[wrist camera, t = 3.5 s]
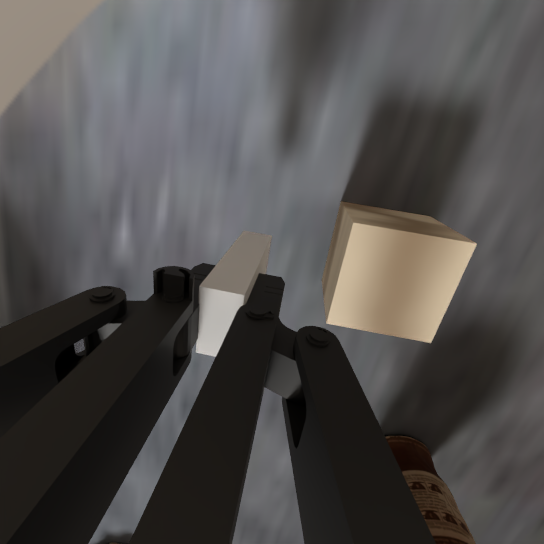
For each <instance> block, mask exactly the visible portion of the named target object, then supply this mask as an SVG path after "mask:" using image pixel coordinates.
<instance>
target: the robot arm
mask: <svg viewBox="0 0 544 544" xmlns="http://www.w3.org/2000/svg"><path fill="white" fill-rule="evenodd" d="M271 238H272V236H270V235H265V234H259V233H254V232H248V231H243V232H242V234H241V235H240V236H239V237H238V239H237V240H236V241H235V242H234V244H233V245H232V246H231V247H230V249H229V250H228V251H227V252H226V254H225V255H224V256H223V257H222V259H221V260H220V261H219V262H218V264H217V265H216V266H215V265H210V264H205V263H202V264H200V265H197V266H195V267H194V268H193V269H192V270H189V269H187V268H183V267H177V266H168V267H162V268H158V269H156V270H155V271H153V277H154V294H153V295H152V296H151V297H150V298H149V299H147V300H146V301H126V294H125V291H123V290H122V289H120V288H116V287H112V286H101V287H96V288H92V289H89V290H86V291H84V292H82V293H79V294H77V295H75V296H73V297H70V298H68V299H66V300H63V301H61V302H59V303H57V304H54V305H52V306H50V307H48V308H45V309H43V310H41V311H38V312H36V313H34V314H32V315H29V316H27V317H25V318H22V319H20V320H18V321H16V322H13V323H11V324H9V325H7V326H4V327H2V328H0V544H88V543H89V541H90V539H91V538H92V536H93V534H94V532H95V531H96V529H97V527H98V525H99V523H100V522H101V520H102V518H103V516H104V515H105V513H106V511H107V509H108V507H109V506H110V504H111V502H112V500H113V499H114V497H115V495H116V493H117V491H118V490H119V488H120V486H121V484H122V483H123V481H124V479H125V477H126V475H127V474H128V472H129V470H130V468H131V467H132V465H133V463H134V461H135V459H136V458H137V456H138V454H139V452H140V451H141V449H142V447H143V445H144V443H145V442H146V440H147V438H148V436H149V435H150V433H151V431H152V429H153V427H154V426H155V424H156V422H157V420H158V419H159V417H160V415H161V413H162V411H163V410H164V408H165V406H166V404H167V403H168V401H169V399H170V397H171V395H172V394H173V392H174V390H175V388H176V387H177V385H178V383H179V381H180V379H181V378H182V376H183V374H184V372H185V371H186V369H187V367H188V365H189V363H190V361H191V353H192V348H193V346H194V344H195V343H196V341H197V343H196V353H201V354H206V355H210V356H215V357H216V358H215V360H214V362H213V364H212V366H211V369H210V371H209V373H208V375H207V377H206V379H205V381H204V384H203V386H202V388H201V390H200V392H199V394H198V397H197V399H196V401H195V403H194V405H193V407H192V409H191V412H190V414H189V416H188V418H187V420H186V422H185V424H184V427H183V429H182V431H181V433H180V435H179V437H178V440H177V442H176V444H175V446H174V448H173V450H172V452H171V455H170V457H169V459H168V461H167V463H166V465H165V468H164V470H163V472H162V474H161V476H160V478H159V480H158V483H157V485H156V487H155V489H154V491H153V493H152V496H151V498H150V500H149V502H148V504H147V506H146V508H145V511H144V513H143V515H142V517H141V519H140V521H139V523H138V526H137V528H136V530H135V532H134V534H133V536H132V539H131V541H130V543H129V544H232V540H233V536H234V531H235V526H236V521H237V516H238V512H239V507H240V502H241V497H242V492H243V488H244V483H245V478H246V473H247V468H248V463H249V459H250V454H251V449H252V444H253V439H254V435H255V430H256V425H257V420H258V415H259V411H260V406H261V401H262V396H263V393H264V387H265V388H267V389H269V390H271V391H273V392H275V393H277V394H278V395H280V396H282V405H283V411H284V418H285V424H286V430H287V436H288V443H289V449H290V455H291V462H292V468H293V474H294V480H295V487H296V493H297V499H298V505H299V512H300V518H301V524H302V530H303V537H304V543H305V544H436V542H435V540H434V538H433V536H432V534H431V532H430V530H429V528H428V526H427V524H426V521H425V519H424V517H423V515H422V513H421V511H420V509H419V507H418V505H417V503H416V501H415V498H414V496H413V494H412V492H411V490H410V488H409V486H408V484H407V482H406V480H405V478H404V475H403V473H402V471H401V469H400V467H399V465H398V463H397V461H396V459H395V457H394V455H393V453H392V450H391V448H390V446H389V444H388V442H387V440H386V438H385V436H384V434H383V432H382V430H381V427H380V425H379V423H378V421H377V419H376V417H375V415H374V413H373V411H372V409H371V407H370V404H369V402H368V400H367V398H366V396H365V394H364V392H363V390H362V388H361V386H360V384H359V381H358V379H357V377H356V375H355V373H354V371H353V369H352V367H351V365H350V363H349V361H348V358H347V356H346V354H345V352H344V350H343V348H342V346H341V344H340V342H339V340H338V339H337V337H336V336H335V335H334V334H333V333H331V332H330V331H328V330H326V329H324V328H321V327H316V326H305V327H303V328H301V329H299V330H298V332H295V331H293V330H291V329H289V328H287V327H286V326H285V325H283V324H282V322H281V321H280V319H279V312H280V307H281V302H282V296H283V291H284V286H285V283H284V281H283V279H282V278H281V277H277V276H272V275H267V274H266V270H267V264H268V257H269V251H270V244H271ZM81 339H83V340H84V347H85V350H83V351H82V352H79V353H77V354H76V353H75V349H74V343H76V342H78V341H79V340H81Z"/></svg>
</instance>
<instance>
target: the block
mask: <svg viewBox="0 0 544 544" xmlns="http://www.w3.org/2000/svg"><path fill="white" fill-rule="evenodd" d="M476 245H477V243H475V242H473V241H472V240H470V239H468V238H466V237H465V236H463V235H461V234H460V233H458V232H456V231H454V230H453V229H451V228H449V227H448V226H446V225H444V224H442V223H441V222H439V221H437V220H436V219H434V218H432V217H430V216H425V215H419V214H413V213H407V212H401V211H395V210H389V209H384V208H378V207H372V206H366V205H360V204H354V203H348V202H342V201H341V203H340V207H339V211H338V215H337V220H336V224H335V228H334V232H333V236H332V240H331V244H330V249H329V253H328V257H327V261H326V265H325V269H324V273H323V278H322V286H323V295H324V305H325V315H326V323H327V324H332V325H338V326H343V327H348V328H354V329H359V330H364V331H370V332H375V333H380V334H386V335H391V336H396V337H402V338H407V339H412V340H418V341H423V342H428V343H431V342H432V340H433V338H434V336H435V334H436V331H437V329H438V327H439V325H440V323H441V321H442V318H443V316H444V314H445V312H446V310H447V308H448V305H449V303H450V301H451V299H452V297H453V295H454V292H455V290H456V288H457V286H458V284H459V282H460V279H461V277H462V275H463V273H464V271H465V269H466V266H467V264H468V262H469V260H470V258H471V256H472V253H473V251H474V249H475V247H476Z"/></svg>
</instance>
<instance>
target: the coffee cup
mask: <svg viewBox="0 0 544 544" xmlns="http://www.w3.org/2000/svg"><path fill="white" fill-rule="evenodd" d="M385 438H386V440H387V442H388V444H389V446H390V448H391V450H392V453H393V455H394V457H395V459H396V461H397V463H398V465H399V467H400V469H401V471H402V473H403V475H404V478H405V480H406V482H407V484H408V486H409V488H410V490H411V492H412V494H413V496H414V498H415V501H416V503H417V505H418V507H419V509H420V511H421V513H422V515H423V517H424V519H425V521H426V524H427V526H428V528H429V530H430V532H431V534H432V536H433V538H434V540H435V542H436V544H476V543H475V541H474V539H473V537H472V534H471V533H470V531H469V529H468V527H467V524H466V523H465V521H464V519H463V517H462V515H461V514H460V512H459V510H458V507H457V504H456V502H455V500H454V498H453V495H452V494H451V492H450V490H449V488H448V487H447V485H446V484H445V483H444V482H443V480H442V479H441V478H440V477H439V476H438V474H437V472H436V470H435V468H434V464H433V461H432V458H431V455H430V452H429V450H428V448H427V447H426V446H425V445H424V444H423V443H422V442H420V441H418V440H415V439H413V438H411V437H406V436H387V437H385Z"/></svg>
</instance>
